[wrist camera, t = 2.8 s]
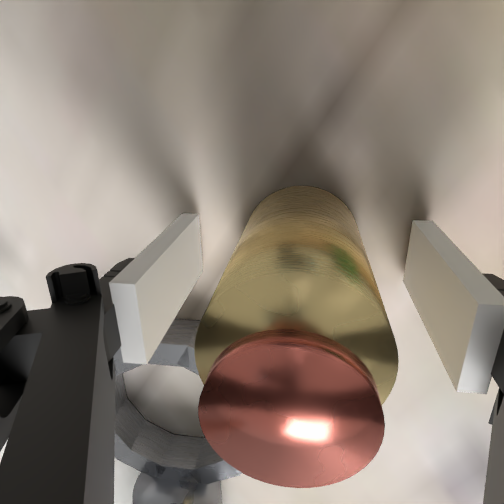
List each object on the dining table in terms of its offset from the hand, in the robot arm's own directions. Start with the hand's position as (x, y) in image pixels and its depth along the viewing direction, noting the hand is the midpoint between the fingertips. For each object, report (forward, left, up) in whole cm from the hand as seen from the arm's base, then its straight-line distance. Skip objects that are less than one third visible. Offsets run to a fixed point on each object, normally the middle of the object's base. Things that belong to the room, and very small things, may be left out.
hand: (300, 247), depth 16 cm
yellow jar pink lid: (0, 0, 0) cm, 0 cm away
